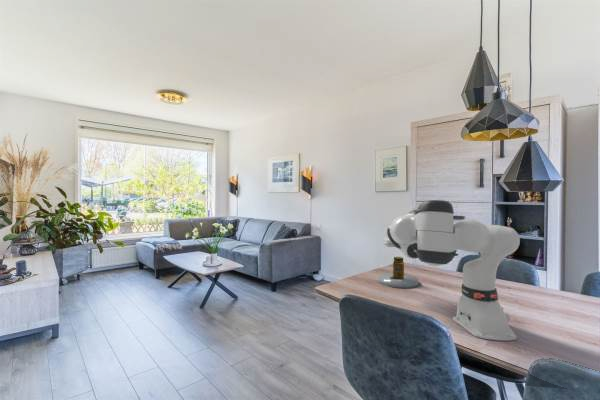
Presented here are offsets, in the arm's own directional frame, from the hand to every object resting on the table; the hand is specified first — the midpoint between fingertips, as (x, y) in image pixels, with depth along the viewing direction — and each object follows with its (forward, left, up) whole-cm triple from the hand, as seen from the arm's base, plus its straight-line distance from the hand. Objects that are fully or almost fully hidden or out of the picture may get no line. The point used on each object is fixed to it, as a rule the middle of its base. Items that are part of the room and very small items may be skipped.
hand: (401, 239), depth 158 cm
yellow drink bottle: (+12, 0, -25) cm, 27 cm away
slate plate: (+12, 0, -26) cm, 29 cm away
